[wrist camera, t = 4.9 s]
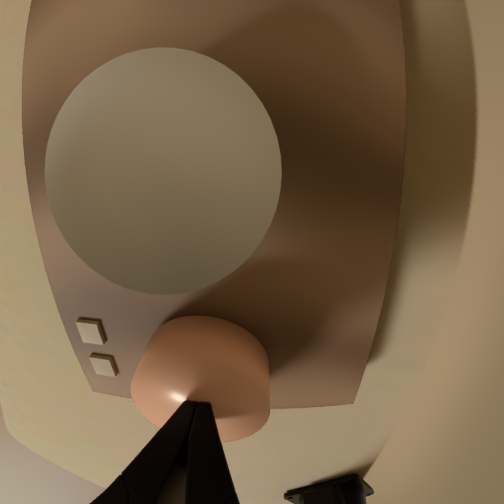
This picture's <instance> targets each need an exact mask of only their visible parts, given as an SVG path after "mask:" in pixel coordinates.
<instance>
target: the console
mask: <svg viewBox="0 0 504 504" xmlns="http://www.w3.org/2000/svg"><path fill="white" fill-rule="evenodd" d="M157 47H164V48H179V49H184V50H190V51H194V52H197V53H200V54H202V55H205V56H208V57H210V58H212V59H214V60H216V61H218V62H220V63H222V64H223V65H225V66H226V67H228V68H229V69H230V70H232V71H233V72H234V73H236V74H237V75H238V76H240V77H241V78H242V79H243V80H244V81H245V82H246V84H247V85H248V86H249V87H250V88H251V89H252V90H253V91H254V93H255V94H256V95H257V97H258V98H259V99H260V101H261V102H262V104H263V106H264V107H265V109H266V111H267V113H268V115H269V117H270V119H271V121H272V124H273V127H274V130H275V133H276V135H277V139H278V144H279V149H280V154H281V168H282V177H281V189H280V195H279V200H278V204H277V209H276V211H275V214H274V217H273V219H272V222H271V225H270V227H269V229H268V230H267V232H266V234H265V236H264V238H263V240H262V241H261V243H260V244H259V245H258V247H257V248H256V249H255V251H254V252H253V253H252V255H251V256H250V257H249V258H248V259H247V260H246V261H245V262H244V263H243V264H242V265H241V266H240V267H238V268H237V269H236V270H235V271H233V272H232V273H231V274H229V275H228V276H226V277H225V278H223V279H221V280H220V281H218V282H216V283H214V284H211V285H209V286H207V287H205V288H202V289H198V290H195V291H191V292H187V293H180V294H169V295H158V294H148V293H143V292H138V291H134V290H131V289H128V288H125V287H122V286H120V285H118V284H115V283H113V282H111V281H109V280H107V279H106V278H104V277H103V276H101V275H100V274H98V273H97V272H95V271H94V270H93V269H92V268H90V267H89V266H88V265H87V264H86V263H84V262H83V261H82V260H81V258H80V257H79V256H78V255H77V254H76V253H75V252H74V251H73V249H72V248H71V247H70V246H69V244H68V243H67V242H66V240H65V238H64V237H63V235H62V233H61V232H60V230H59V228H58V226H57V224H56V221H55V219H54V217H53V214H52V211H51V208H50V205H49V201H48V196H47V191H46V183H45V157H46V150H47V144H48V140H49V136H50V133H51V129H52V127H53V124H54V122H55V119H56V117H57V115H58V113H59V111H60V109H61V108H62V106H63V104H64V102H65V101H66V99H67V98H68V97H69V95H70V94H71V93H72V91H73V90H74V89H75V88H76V87H77V86H78V85H79V84H80V83H81V81H82V80H83V79H84V78H86V77H87V76H88V75H89V74H90V73H92V72H93V71H94V70H96V69H97V68H98V67H100V66H102V65H103V64H105V63H107V62H108V61H110V60H112V59H114V58H116V57H119V56H121V55H124V54H126V53H130V52H133V51H137V50H141V49H148V48H157ZM22 130H23V146H24V158H25V167H26V176H27V183H28V190H29V197H30V203H31V208H32V214H33V219H34V224H35V229H36V233H37V238H38V242H39V246H40V250H41V254H42V258H43V262H44V266H45V269H46V273H47V276H48V280H49V283H50V286H51V290H52V293H53V296H54V299H55V302H56V305H57V308H58V311H59V313H60V316H61V319H62V322H63V324H64V327H65V330H66V332H67V335H68V337H69V340H70V342H71V345H72V347H73V349H74V352H75V354H76V356H77V359H78V361H79V363H80V365H81V368H82V370H83V372H84V374H85V376H86V378H87V380H88V382H89V384H90V386H91V388H92V390H93V391H94V392H99V393H104V394H109V395H114V396H120V397H126V398H132V396H131V391H130V388H131V382H132V379H133V376H134V374H135V372H136V369H137V367H138V365H139V363H140V360H141V358H142V356H143V354H144V351H145V349H146V347H147V345H148V342H149V340H150V338H151V336H152V335H153V333H154V332H155V331H156V330H157V329H158V328H159V327H160V326H162V325H163V324H165V323H167V322H168V321H171V320H173V319H176V318H180V317H185V316H211V317H216V318H220V319H224V320H227V321H230V322H232V323H235V324H237V325H238V326H240V327H242V328H244V329H245V330H247V331H248V332H250V333H251V334H252V335H253V336H254V337H256V338H257V340H258V341H259V342H260V343H261V344H262V346H263V347H264V349H265V351H266V353H267V356H268V360H269V384H270V409H282V408H308V407H323V406H335V405H346V404H354V401H355V398H356V395H357V392H358V389H359V386H360V383H361V380H362V377H363V374H364V371H365V367H366V364H367V361H368V357H369V354H370V350H371V347H372V343H373V340H374V336H375V332H376V329H377V325H378V321H379V317H380V313H381V308H382V304H383V300H384V295H385V291H386V286H387V281H388V276H389V271H390V266H391V261H392V255H393V249H394V243H395V237H396V231H397V224H398V216H399V209H400V200H401V191H402V181H403V170H404V156H405V138H406V66H405V49H404V36H403V26H402V17H401V9H400V2H399V0H32V2H31V7H30V12H29V18H28V24H27V31H26V39H25V48H24V59H23V75H22Z"/></svg>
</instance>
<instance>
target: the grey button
mask: <svg viewBox="0 0 504 504" xmlns="http://www.w3.org/2000/svg"><path fill="white" fill-rule="evenodd" d="M281 177H282V168H281V154H280V149H279V144H278V139H277V135H276V133H275V130H274V127H273V124H272V121H271V119H270V117H269V115H268V113H267V111H266V109H265V107H264V106H263V104H262V102H261V101H260V99H259V98H258V97H257V95H256V94H255V93H254V91H253V90H252V89H251V88H250V87H249V86H248V85H247V84H246V82H245V81H244V80H243V79H242V78H241V77H240V76H238V75H237V74H236V73H234V72H233V71H232V70H230V69H229V68H228V67H226V66H225V65H223V64H222V63H220V62H218V61H216V60H214V59H212V58H210V57H208V56H205V55H202V54H200V53H197V52H194V51H190V50H184V49H179V48H164V47H157V48H148V49H141V50H137V51H133V52H130V53H126V54H124V55H121V56H119V57H116V58H114V59H112V60H110V61H108V62H107V63H105V64H103V65H102V66H100V67H98V68H97V69H96V70H94V71H93V72H92V73H90V74H89V75H88V76H87V77H86V78H84V79H83V80H82V81H81V83H80V84H79V85H78V86H77V87H76V88H75V89H74V90H73V91H72V93H71V94H70V95H69V97H68V98H67V99H66V101H65V102H64V104H63V106H62V108H61V109H60V111H59V113H58V115H57V117H56V119H55V122H54V124H53V127H52V129H51V133H50V136H49V140H48V144H47V150H46V157H45V183H46V191H47V196H48V201H49V205H50V208H51V211H52V214H53V217H54V219H55V221H56V224H57V226H58V228H59V230H60V232H61V233H62V235H63V237H64V238H65V240H66V242H67V243H68V244H69V246H70V247H71V248H72V249H73V251H74V252H75V253H76V254H77V255H78V256H79V257H80V258H81V260H82V261H83V262H84V263H86V264H87V265H88V266H89V267H90V268H92V269H93V270H94V271H95V272H97V273H98V274H100V275H101V276H103V277H104V278H106V279H107V280H109V281H111V282H113V283H115V284H118V285H120V286H122V287H125V288H128V289H131V290H134V291H138V292H143V293H148V294H158V295H169V294H180V293H187V292H191V291H195V290H198V289H202V288H205V287H207V286H209V285H211V284H214V283H216V282H218V281H220V280H221V279H223V278H225V277H226V276H228V275H229V274H231V273H232V272H233V271H235V270H236V269H237V268H238V267H240V266H241V265H242V264H243V263H244V262H245V261H246V260H247V259H248V258H249V257H250V256H251V255H252V253H253V252H254V251H255V249H256V248H257V247H258V245H259V244H260V243H261V241H262V240H263V238H264V236H265V234H266V232H267V230H268V229H269V227H270V225H271V222H272V219H273V217H274V214H275V211H276V209H277V204H278V200H279V195H280V189H281Z"/></svg>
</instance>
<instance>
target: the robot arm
mask: <svg viewBox="0 0 504 504" xmlns="http://www.w3.org/2000/svg"><path fill="white" fill-rule="evenodd" d="M121 474H122V475H119V476H118V477H117V478H116V479H115V481H114V482H113V483H112V484H111V485H110V486H109V487H108V488H107V489H106V490H105V491H104V492H103V493H102V494H100V495H99V496H98V497H97V498H96V499H95V500H93V501H92V502H91V503H90V504H240V503H239V500H238V497H237V494H236V492H235V488H234V484H233V481H232V478H231V475H230V471H229V468H228V464H227V461H226V457H225V454H224V450H223V447H222V443H221V439H220V436H219V432H218V428H217V424H216V420H215V417H214V413H213V409H212V405H211V403H210V402H202V401H200V402H197V401H189V400H185V401H184V402H183V403H182V404H181V405H180V406H179V407H178V409H177V410H176V411H175V412H174V413H173V414H172V416H171V417H170V418H169V419H168V420H167V422H166V423H165V424H164V425H163V426H162V427H161V429H160V430H159V431H158V432H157V433H156V434H155V436H154V437H153V438H152V439H151V440H150V441H149V442H148V444H147V445H146V446H145V447H144V448H143V449H142V450H141V452H140V453H139V454H138V455H137V456H136V457H135V458H134V460H133V461H132V462H131V463H130V464H129V465H128V466H127V467H126V468H125V470H124V471H123V472H122V473H121ZM372 494H374V491H373V489H372V488H371V487H370V486H369V485H368V484H367V483H366V482H365V481H364V480H363V479H362V478H361V477H360V476H359V475H358V474H355V475H351V476H348V477H344V478H341V479H338V480H335V481H331V482H328V483H324V484H321V485H317V486H313V487H309V488H305V489H301V490H297V491H292V492H288V493H285V494H284V499H286V500H288V501H290V502H292V503H294V504H366V498H365V497H366V496H370V495H372Z"/></svg>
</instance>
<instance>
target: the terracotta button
mask: <svg viewBox="0 0 504 504" xmlns="http://www.w3.org/2000/svg"><path fill="white" fill-rule="evenodd" d="M130 391H131V396H132V399H133V401H134V403H135V405H136V407H137V408H138V410H139V411H140V412H141V413H142V414H143V415H144V416H145V417H146V418H147V419H148V420H149V421H150V422H152V423H153V424H154V425H156V426H157V427H159V428H161V427H162V426H163V425H164V424H165V423H166V422H167V420H168V419H169V418H170V417H171V416H172V414H173V413H174V412H175V411H176V410H177V409H178V407H179V406H180V405H181V404H182V403H183V402H184V401H185V400H189V401H197V402H200V401H202V402H210V403H211V405H212V409H213V413H214V417H215V420H216V424H217V428H218V432H219V436H220V439H221V442H230V441H235V440H239V439H243V438H245V437H248V436H250V435H252V434H254V433H255V432H257V431H258V430H260V429H261V428H262V427H263V426H264V425H265V423H266V422H267V420H268V418H269V414H270V384H269V360H268V356H267V353H266V351H265V349H264V347H263V346H262V344H261V343H260V342H259V341H258V340H257V338H256V337H254V336H253V335H252V334H251V333H250V332H248V331H247V330H245V329H244V328H242V327H240V326H238V325H237V324H235V323H232V322H230V321H227V320H224V319H220V318H216V317H211V316H185V317H180V318H176V319H173V320H171V321H168V322H167V323H165V324H163V325H162V326H160V327H159V328H158V329H157V330H156V331H155V332H154V333H153V335H152V336H151V338H150V340H149V342H148V345H147V347H146V349H145V351H144V354H143V356H142V358H141V360H140V363H139V365H138V367H137V369H136V372H135V374H134V376H133V379H132V382H131V388H130Z"/></svg>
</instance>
